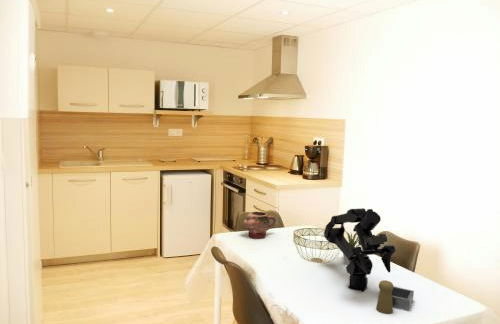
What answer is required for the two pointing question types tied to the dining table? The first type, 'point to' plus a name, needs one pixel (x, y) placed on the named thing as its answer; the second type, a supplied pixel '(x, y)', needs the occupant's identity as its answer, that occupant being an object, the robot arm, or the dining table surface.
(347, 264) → the house plant
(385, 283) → the cork
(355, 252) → the robot arm
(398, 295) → the square metal tray
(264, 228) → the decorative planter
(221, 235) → the dining table surface
